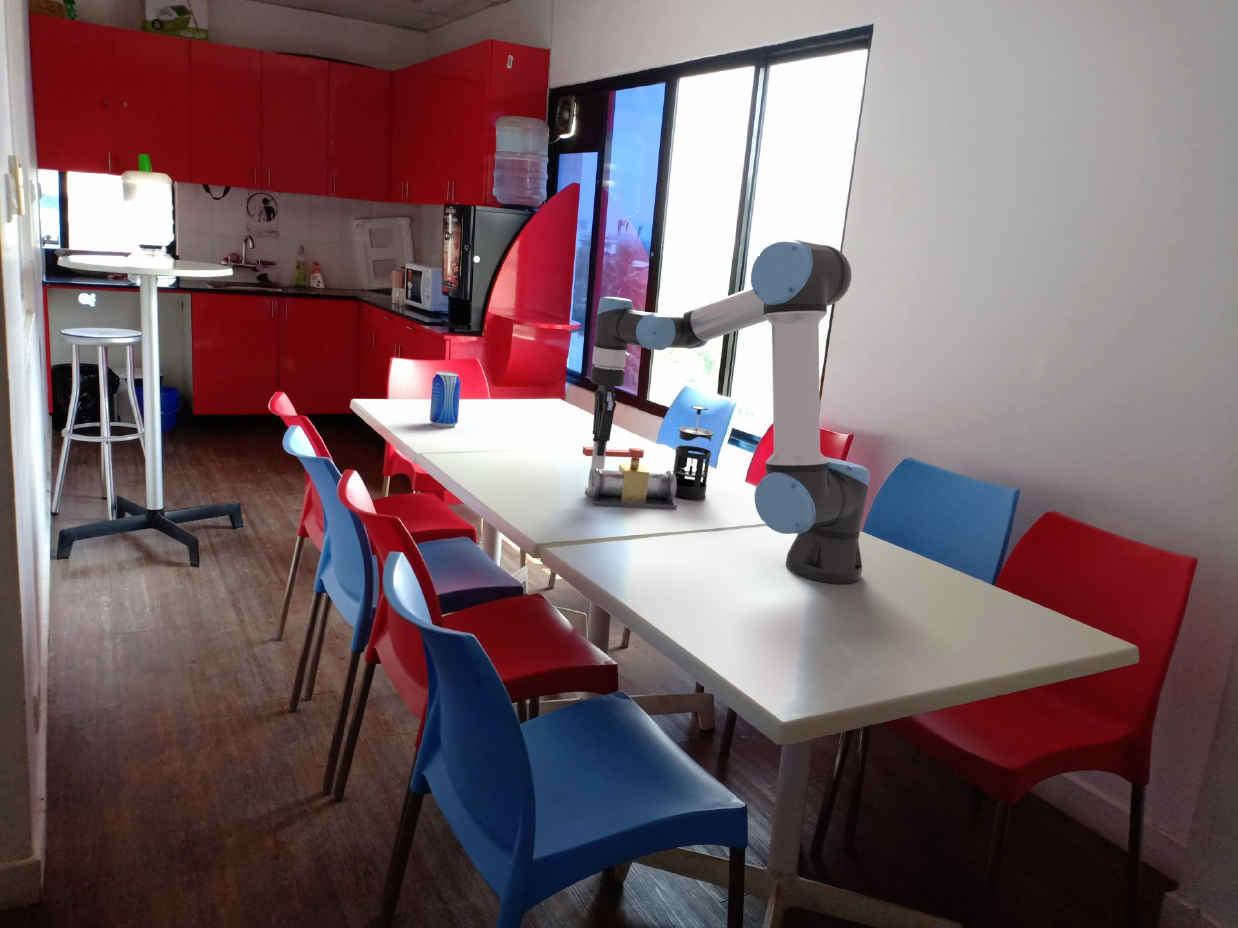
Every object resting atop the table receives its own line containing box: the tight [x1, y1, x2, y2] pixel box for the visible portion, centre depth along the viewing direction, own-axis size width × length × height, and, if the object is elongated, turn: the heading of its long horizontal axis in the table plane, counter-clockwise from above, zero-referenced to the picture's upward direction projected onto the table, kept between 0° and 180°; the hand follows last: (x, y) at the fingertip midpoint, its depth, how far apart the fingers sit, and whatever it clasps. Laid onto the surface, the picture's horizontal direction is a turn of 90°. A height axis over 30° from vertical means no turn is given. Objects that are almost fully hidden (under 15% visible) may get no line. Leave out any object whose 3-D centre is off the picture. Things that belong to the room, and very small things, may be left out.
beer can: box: [429, 371, 462, 429], centre depth 281 cm, size 8×8×16 cm
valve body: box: [584, 457, 678, 511], centre depth 223 cm, size 20×12×10 cm, turn 103°
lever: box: [582, 446, 645, 459], centre depth 219 cm, size 15×4×2 cm, turn 110°
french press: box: [673, 405, 715, 502], centre depth 233 cm, size 12×9×23 cm
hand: (597, 468), depth 214 cm, fingers closed
